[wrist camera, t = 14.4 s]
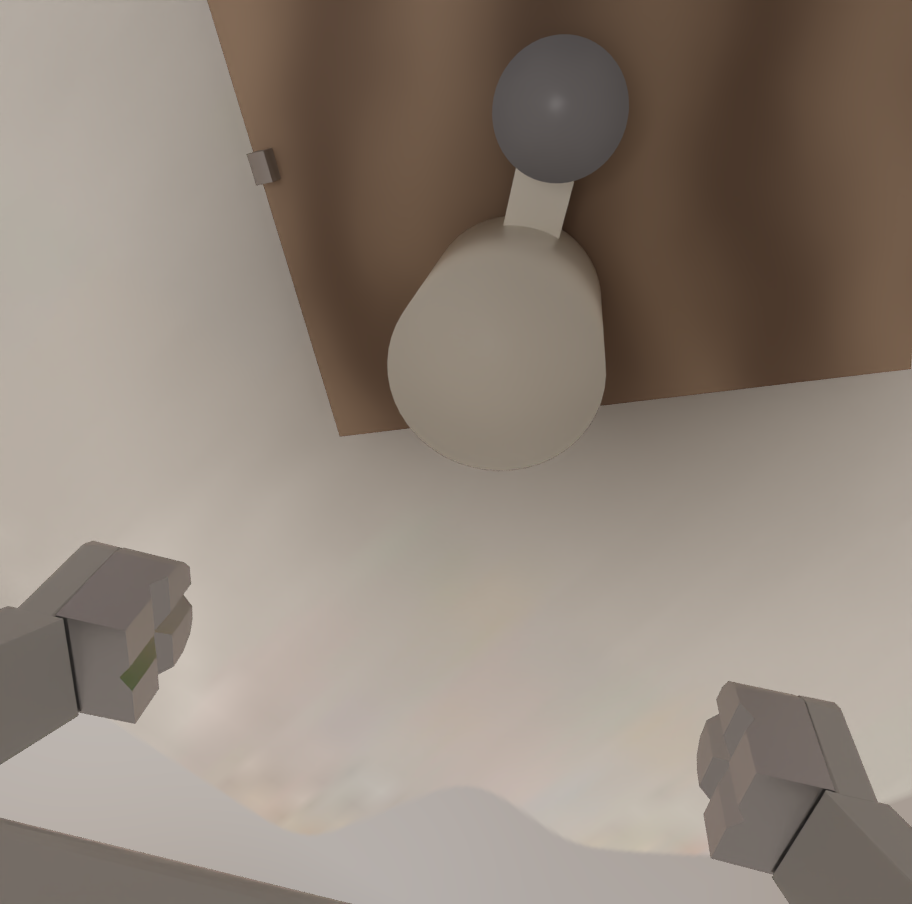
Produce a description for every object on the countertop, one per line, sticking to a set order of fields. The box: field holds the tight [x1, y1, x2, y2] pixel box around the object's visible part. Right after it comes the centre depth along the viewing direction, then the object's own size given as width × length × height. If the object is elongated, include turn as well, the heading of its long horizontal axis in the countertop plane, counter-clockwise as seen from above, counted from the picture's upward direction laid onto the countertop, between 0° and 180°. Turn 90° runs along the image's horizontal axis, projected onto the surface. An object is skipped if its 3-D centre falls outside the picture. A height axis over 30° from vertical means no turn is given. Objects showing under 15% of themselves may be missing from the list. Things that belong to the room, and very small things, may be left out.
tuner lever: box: [387, 34, 629, 471], centre depth 22 cm, size 11×6×6 cm, turn 169°
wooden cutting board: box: [207, 0, 912, 436], centre depth 23 cm, size 21×21×2 cm
